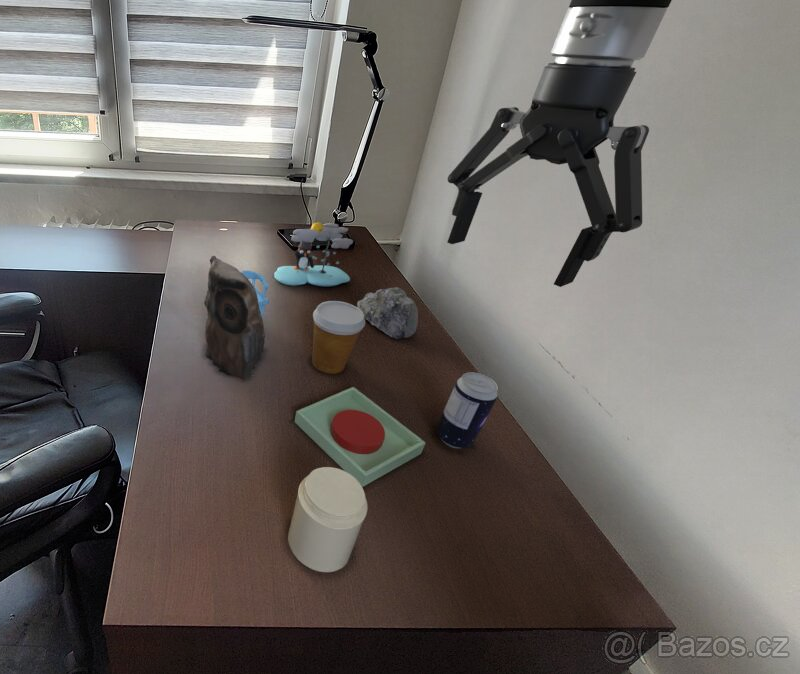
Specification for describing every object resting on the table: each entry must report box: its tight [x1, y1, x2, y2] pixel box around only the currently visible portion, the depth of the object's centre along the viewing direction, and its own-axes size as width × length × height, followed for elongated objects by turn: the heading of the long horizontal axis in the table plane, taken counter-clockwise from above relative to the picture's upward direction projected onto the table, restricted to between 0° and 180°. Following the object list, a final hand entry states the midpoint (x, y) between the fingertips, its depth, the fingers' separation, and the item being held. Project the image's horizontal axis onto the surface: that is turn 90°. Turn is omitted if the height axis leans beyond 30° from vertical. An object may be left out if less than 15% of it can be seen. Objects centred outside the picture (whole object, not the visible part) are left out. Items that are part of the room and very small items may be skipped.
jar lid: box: [330, 410, 385, 454], centre depth 74 cm, size 8×8×2 cm
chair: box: [240, 270, 270, 320], centre depth 99 cm, size 8×8×12 cm
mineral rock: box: [356, 286, 419, 340], centre depth 101 cm, size 13×11×10 cm
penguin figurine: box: [273, 221, 354, 288], centre depth 117 cm, size 20×11×15 cm, turn 91°
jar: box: [287, 466, 368, 573], centre depth 56 cm, size 8×8×10 cm
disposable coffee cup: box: [311, 300, 366, 374], centre depth 88 cm, size 10×10×12 cm
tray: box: [293, 386, 426, 488], centre depth 74 cm, size 15×13×2 cm
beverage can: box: [435, 371, 499, 449], centre depth 72 cm, size 6×6×12 cm
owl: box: [204, 255, 266, 381], centre depth 86 cm, size 13×13×20 cm
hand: (504, 261), depth 57 cm, fingers open, 13 cm apart
